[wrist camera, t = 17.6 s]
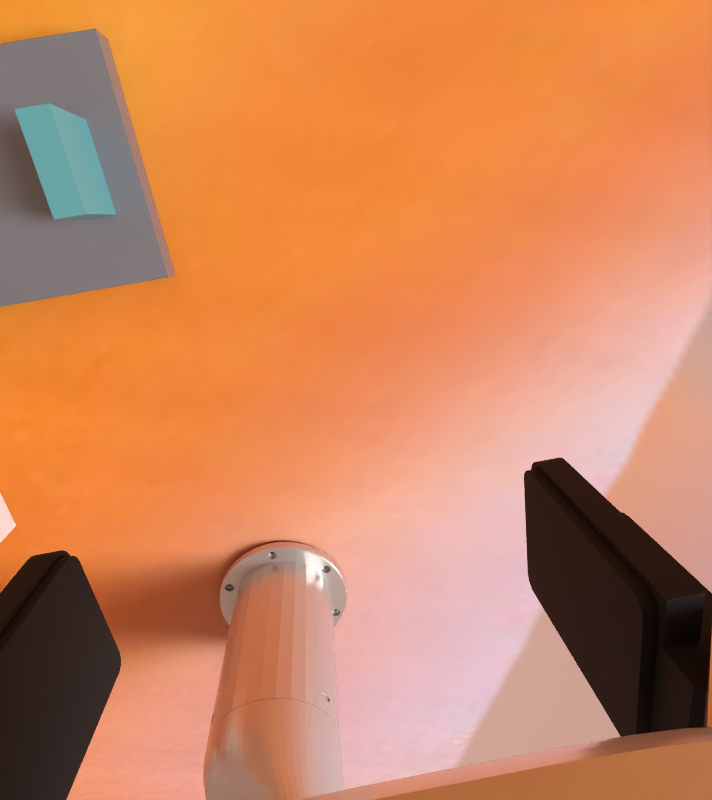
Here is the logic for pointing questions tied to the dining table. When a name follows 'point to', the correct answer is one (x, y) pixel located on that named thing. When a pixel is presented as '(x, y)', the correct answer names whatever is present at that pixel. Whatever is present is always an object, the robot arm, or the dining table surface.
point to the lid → (71, 174)
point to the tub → (5, 520)
